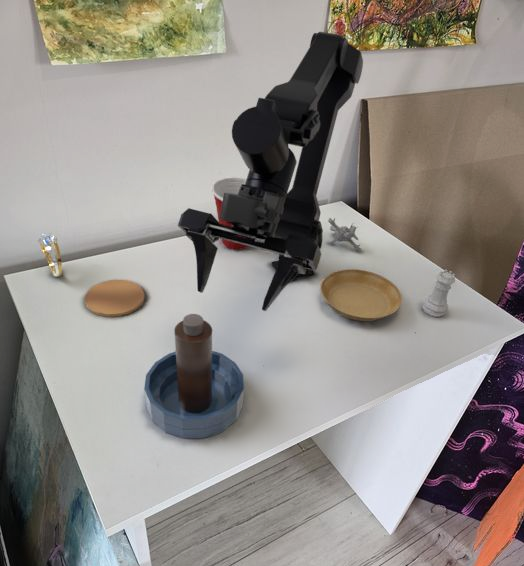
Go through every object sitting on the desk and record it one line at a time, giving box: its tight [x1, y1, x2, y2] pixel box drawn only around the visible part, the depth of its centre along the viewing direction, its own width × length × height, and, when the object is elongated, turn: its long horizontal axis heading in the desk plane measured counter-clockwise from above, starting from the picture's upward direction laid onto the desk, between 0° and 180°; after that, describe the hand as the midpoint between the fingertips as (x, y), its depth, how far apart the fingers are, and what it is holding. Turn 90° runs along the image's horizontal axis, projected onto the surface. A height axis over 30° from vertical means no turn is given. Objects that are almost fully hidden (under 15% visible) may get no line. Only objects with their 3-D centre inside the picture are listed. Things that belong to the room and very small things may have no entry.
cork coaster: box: [84, 279, 146, 318], centre depth 85 cm, size 10×10×1 cm
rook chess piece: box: [421, 269, 456, 318], centre depth 87 cm, size 4×4×8 cm
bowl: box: [143, 350, 245, 439], centre depth 68 cm, size 13×13×4 cm
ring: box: [36, 232, 63, 278], centre depth 87 cm, size 7×3×8 cm, turn 32°
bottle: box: [173, 313, 213, 413], centre depth 64 cm, size 5×5×15 cm
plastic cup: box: [211, 176, 249, 251], centre depth 99 cm, size 11×11×12 cm
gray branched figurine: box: [327, 217, 362, 253], centre depth 104 cm, size 10×6×9 cm
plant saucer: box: [319, 268, 403, 322], centre depth 89 cm, size 15×15×3 cm
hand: (231, 301), depth 65 cm, fingers open, 9 cm apart
